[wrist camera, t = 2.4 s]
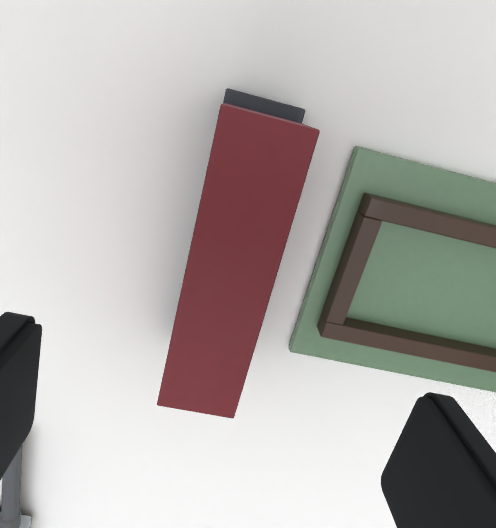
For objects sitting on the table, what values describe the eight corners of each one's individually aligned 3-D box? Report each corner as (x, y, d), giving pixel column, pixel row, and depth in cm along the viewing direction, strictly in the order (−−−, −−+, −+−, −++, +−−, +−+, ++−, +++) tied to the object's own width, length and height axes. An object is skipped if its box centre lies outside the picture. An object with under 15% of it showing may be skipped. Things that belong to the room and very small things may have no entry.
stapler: (226, 88, 20) (224, 85, 14) (299, 108, 20) (325, 112, 15) (173, 338, 25) (155, 409, 19) (232, 350, 25) (232, 422, 20)
